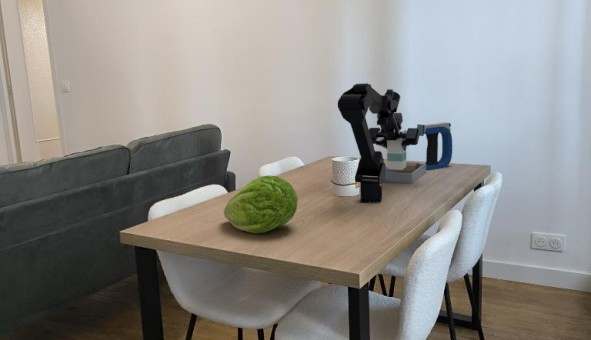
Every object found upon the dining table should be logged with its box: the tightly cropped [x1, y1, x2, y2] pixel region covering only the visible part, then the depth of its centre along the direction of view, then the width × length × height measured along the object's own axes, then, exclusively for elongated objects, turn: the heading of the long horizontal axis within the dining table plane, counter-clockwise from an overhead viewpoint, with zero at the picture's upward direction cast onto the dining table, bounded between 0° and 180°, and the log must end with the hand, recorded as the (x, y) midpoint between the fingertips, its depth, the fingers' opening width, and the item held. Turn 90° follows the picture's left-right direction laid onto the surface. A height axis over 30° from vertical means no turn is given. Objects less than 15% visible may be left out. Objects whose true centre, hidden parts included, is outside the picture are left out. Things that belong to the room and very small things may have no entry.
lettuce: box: [223, 175, 299, 234], centre depth 142 cm, size 15×25×16 cm
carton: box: [386, 138, 407, 170], centre depth 188 cm, size 6×6×12 cm
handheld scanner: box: [416, 121, 453, 171], centre depth 208 cm, size 4×16×19 cm, turn 115°
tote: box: [384, 162, 427, 184], centre depth 197 cm, size 20×13×4 cm, turn 151°
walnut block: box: [395, 161, 420, 173], centre depth 201 cm, size 6×8×4 cm
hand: (397, 149), depth 189 cm, fingers closed on carton, 5 cm apart
